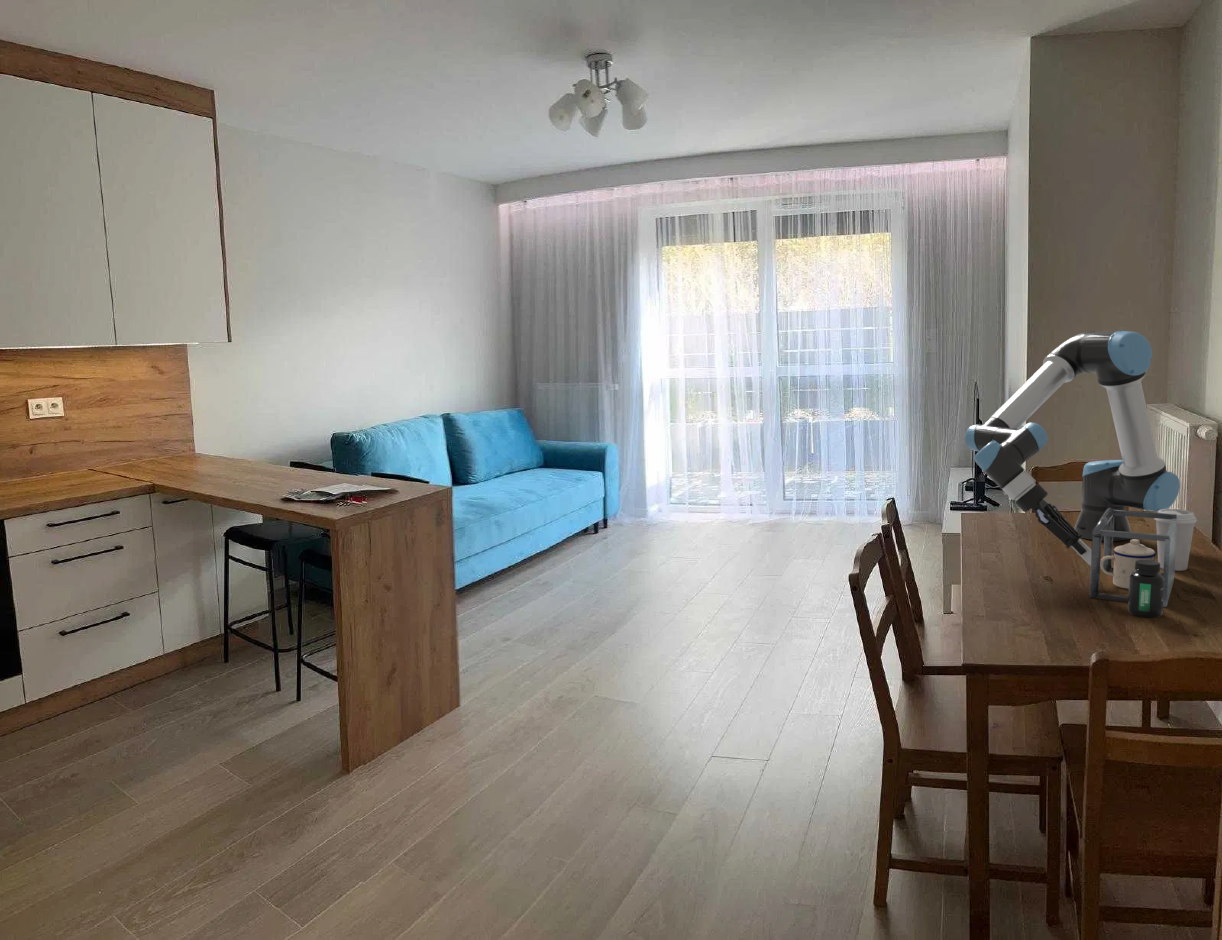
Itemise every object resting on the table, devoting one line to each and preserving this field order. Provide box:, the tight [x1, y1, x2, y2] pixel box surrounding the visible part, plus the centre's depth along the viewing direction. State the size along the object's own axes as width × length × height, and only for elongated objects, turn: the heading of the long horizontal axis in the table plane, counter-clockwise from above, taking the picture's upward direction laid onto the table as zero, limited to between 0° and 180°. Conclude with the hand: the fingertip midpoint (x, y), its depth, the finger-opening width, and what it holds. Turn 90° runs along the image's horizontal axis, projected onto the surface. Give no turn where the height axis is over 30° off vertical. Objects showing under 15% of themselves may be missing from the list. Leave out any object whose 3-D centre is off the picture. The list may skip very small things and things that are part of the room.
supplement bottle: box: [1127, 560, 1165, 619], centre depth 204 cm, size 7×7×12 cm
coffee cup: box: [1153, 508, 1198, 572], centre depth 238 cm, size 10×10×15 cm
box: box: [1088, 508, 1178, 608], centre depth 223 cm, size 27×16×17 cm, turn 145°
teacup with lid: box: [1100, 538, 1157, 590], centre depth 225 cm, size 12×9×12 cm
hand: (1094, 562), depth 228 cm, fingers closed
